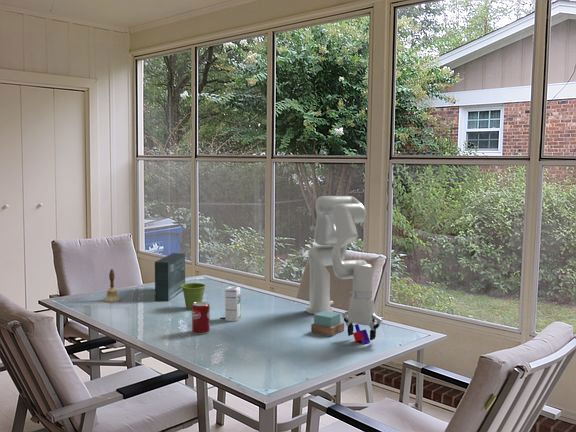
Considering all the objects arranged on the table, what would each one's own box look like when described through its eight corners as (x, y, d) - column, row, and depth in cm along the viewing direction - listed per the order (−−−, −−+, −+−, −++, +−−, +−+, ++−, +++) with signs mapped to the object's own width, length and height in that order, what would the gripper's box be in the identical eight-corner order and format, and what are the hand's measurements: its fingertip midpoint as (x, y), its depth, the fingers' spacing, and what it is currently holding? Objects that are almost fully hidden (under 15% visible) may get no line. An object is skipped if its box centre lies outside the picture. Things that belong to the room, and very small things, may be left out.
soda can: (195, 335, 240) (195, 306, 239) (189, 330, 246) (189, 302, 245) (212, 333, 243) (212, 304, 242) (206, 328, 250) (206, 300, 248)
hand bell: (124, 300, 299) (123, 269, 298) (111, 303, 292) (110, 271, 291) (113, 297, 304) (112, 267, 302) (100, 301, 297) (99, 269, 295)
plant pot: (176, 309, 281) (176, 286, 279) (189, 304, 291) (189, 282, 290) (198, 312, 276) (197, 288, 275) (210, 306, 287) (210, 284, 286)
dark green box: (173, 288, 327) (172, 253, 325) (185, 289, 326) (185, 253, 324) (155, 301, 298) (154, 262, 296) (168, 301, 297) (168, 262, 296)
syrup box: (237, 321, 261) (237, 289, 260) (224, 320, 262) (224, 288, 261) (241, 318, 267) (241, 286, 265) (228, 317, 268) (228, 286, 267)
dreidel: (363, 344, 235) (357, 325, 237) (370, 342, 232) (363, 322, 234) (357, 346, 233) (350, 326, 235) (364, 343, 230) (357, 323, 232)
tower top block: (323, 319, 252) (323, 310, 252) (340, 322, 248) (340, 313, 248) (314, 324, 246) (314, 314, 245) (331, 327, 241) (331, 317, 241)
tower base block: (323, 328, 254) (323, 319, 254) (344, 332, 248) (344, 322, 248) (311, 333, 246) (311, 324, 245) (331, 337, 240) (331, 328, 240)
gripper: (338, 293, 234) (337, 335, 235) (378, 299, 224) (376, 343, 225) (347, 290, 240) (346, 331, 241) (386, 296, 230) (385, 338, 232)
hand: (361, 337), depth 233 cm, fingers open, 9 cm apart
